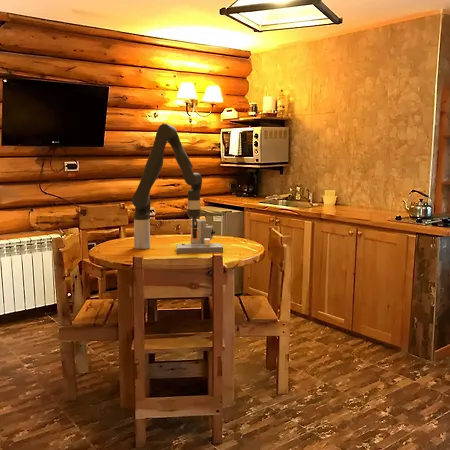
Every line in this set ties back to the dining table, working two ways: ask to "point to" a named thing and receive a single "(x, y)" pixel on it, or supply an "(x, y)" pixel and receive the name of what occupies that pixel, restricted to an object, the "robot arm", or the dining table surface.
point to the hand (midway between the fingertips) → (194, 237)
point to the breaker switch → (207, 242)
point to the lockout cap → (192, 233)
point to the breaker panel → (199, 248)
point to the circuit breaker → (203, 232)
